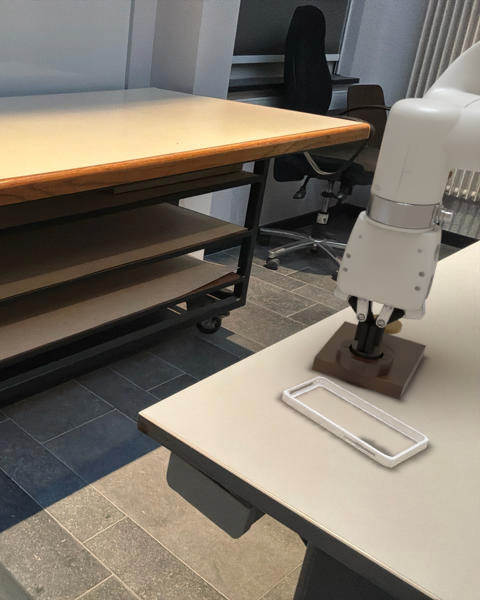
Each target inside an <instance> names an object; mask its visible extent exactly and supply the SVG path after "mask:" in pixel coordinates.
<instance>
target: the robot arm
mask: <svg viewBox="0 0 480 600" xmlns="http://www.w3.org/2000/svg"><path fill="white" fill-rule="evenodd" d="M453 170H460V171H461V170H462V171H470V172H476V173H480V40H478V41H477V42H476V43H474V44H473V45H471V46H470V47H469V48H467V49H466V50H464V51H463V52H462V53H461V54H460V55H459V56H457V58H455V59H454V61H452V62H451V63H450V65H449V66H447V68H446V69H445V70H444V72H442V74H441V75H440V76H438V78H437V79H436V81H434V83H433V84H432V85H431V87H430V88H429V89H428V90H427V91H426V92H425V94H424V95H423V97H422V98H421V97H409V98H403V99H400V100H397V101H396V102H394V104H393V105H392V106H391V108H390V110H389V112H388V115H387V119H386V123H385V127H384V132H383V136H382V141H381V145H380V149H379V153H378V158H377V161H376V166H375V170H374V175H373V179H372V183H371V188H370V191H369V196H368V199H367V203H366V208H365V210H363V211H361V212H360V213H359V214H358V217H357V218H356V221H355V223H354V225H353V227H352V230H351V233H350V234H349V238H348V240H347V243H346V246H345V250H344V252H343V255H342V259H341V261H340V265H339V269H338V273H337V277H336V285H335V286H334V288H333V290H332V294H333V296H334V297H336V298H338V299H340V300H342V301H344V302H347V303H348V305H349V306H350V308H351V309H352V311H353V312H354V313H355V315H356V316H355V317H356V320H357V324H356V325H357V329H356V333H355V337H354V340H356V341H358V345H357V349H356V350H358V351H363V350H364V352H365V353H367V354H370V352H371V351H372V349H373V348H374V347H378V348H379V346H380V344H381V342H382V338H383V335H384V331H385V327H386V325H387V324H390V323H392V322H394V321H396V320H400V319H405V320H419V321H420V320H422V319H423V318H424V317H425V315H426V300H428V298H429V295H430V292H431V290H432V286H433V282H434V278H435V274H436V270H437V265H438V261H439V257H440V256H439V254H440V250H441V241H442V227H441V225H438V223H439V222H440V223H443V222H446V223H451V220H452V218H453V215H454V210H452V209H447V207H444V206H445V205H444V204H443V201H444V200H443V197H444V194H445V190H446V186H447V183H448V180H449V176H450V173H451V172H452V171H453ZM374 303H377V304H380V305H382V307H381V309H380V311H379V315H378V316H377V317H376V318H374V312H373V308H374V307H373V306H374Z"/></svg>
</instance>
